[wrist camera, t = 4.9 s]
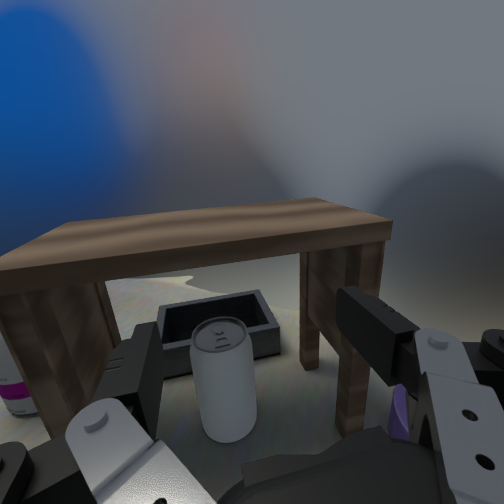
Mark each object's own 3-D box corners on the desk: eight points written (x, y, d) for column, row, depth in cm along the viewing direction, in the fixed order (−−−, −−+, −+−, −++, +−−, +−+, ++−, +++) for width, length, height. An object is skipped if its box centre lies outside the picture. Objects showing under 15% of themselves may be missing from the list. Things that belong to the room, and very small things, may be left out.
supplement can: (2, 432, 31) (-57, 324, 25) (15, 385, 37) (-31, 292, 32) (82, 396, 35) (45, 297, 30) (81, 360, 41) (50, 274, 36)
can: (249, 387, 34) (242, 309, 30) (265, 434, 28) (259, 345, 24) (199, 402, 33) (185, 321, 29) (205, 454, 27) (188, 362, 23)
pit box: (280, 354, 40) (279, 326, 38) (157, 381, 36) (150, 352, 35) (260, 312, 51) (258, 289, 49) (164, 329, 47) (159, 306, 46)
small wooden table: (364, 440, 27) (392, 220, 19) (86, 526, 22) (-35, 275, 14) (310, 355, 39) (313, 197, 31) (122, 398, 34) (67, 222, 26)
